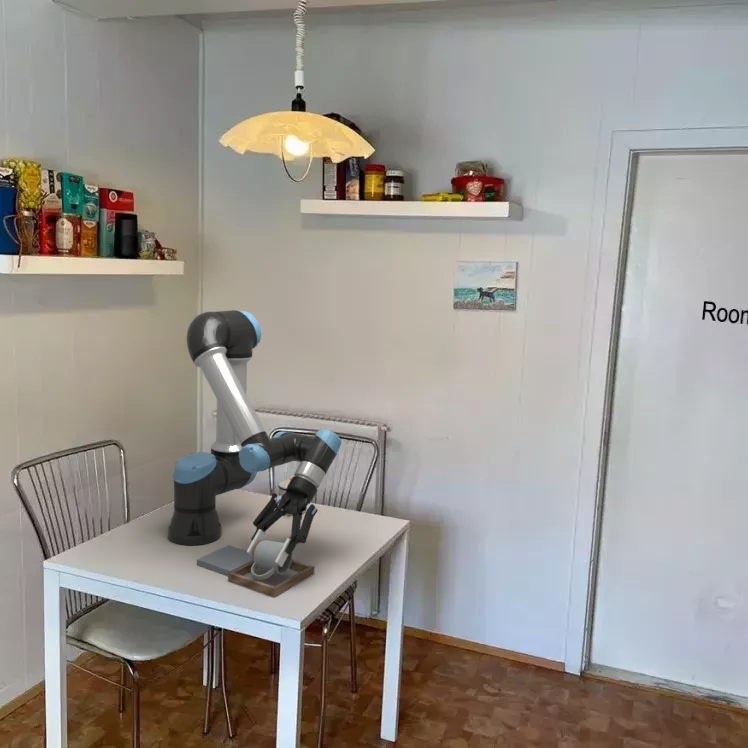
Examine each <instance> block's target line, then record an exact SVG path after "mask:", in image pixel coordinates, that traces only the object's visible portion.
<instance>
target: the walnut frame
mask: <svg viewBox="0 0 748 748" xmlns="http://www.w3.org/2000/svg"><path fill="white" fill-rule="evenodd" d="M253 564H254V563H253V561H252V562H250V563H248V564H246V565H244V566H242V567H240V568H238V569H236V570H234V571H232V572H229V573H228V576H227V578H228V580H227V582H232V583H234V584H236V585H239V586H241V587H245V588H248V589H250V590H253V591H256V592H258V593H261V594H264V595H267V596H271V597H273V598H275V597H277V596H279V595H280V594H283V593H285V592H286V591H288V590H289V589H291V588H293V587H294V586H296V585H298V584H299V582H300V583H301V582H304V581H305V580H307V579H308V578H310V577H311V575H312V576H314V575H315V566H313V565H310V564H307V563H304V562H300V561H297V560H294V559H292V561H291V565H290V567H289V569H291V570H295V571H297V573H296V574H294V575H293V576H291V577H289V578H287V579H285V580H283V581H282V582H279V583H278V584H276V585H274V586H273V585H270V584H267V583H265V582H262V581H260V580H257V579H253V578H251V577H248V576H245V575H247V574H249V573H251V568H252V565H253ZM257 569H258V568H257V567H256V569H255V570H257ZM300 571H301V572H300ZM313 574H314V575H313ZM309 576H310V577H309ZM306 578H307V579H306ZM304 579H305V580H304ZM297 583H298V584H297ZM292 586H293V587H292ZM287 589H288V590H287Z"/></svg>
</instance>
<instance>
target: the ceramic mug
mask: <svg viewBox="0 0 748 748" xmlns="http://www.w3.org/2000/svg"><path fill="white" fill-rule="evenodd" d="M284 544H285V542H280V541H274V540H267V539H265V540H264V539H263V541H260V542H259V543H258V544H257V545H256V546H255V548H254V551H253V556H252V559H253V563H254V564H253V565H252V568H251V572H250V573H251V575H252V577H253V578H254V580H257V581H263V580H266V579H269V578H270V577H272V576H273V575H274V574H276V575H284V574H286V573H287V572H288V571H289V569H290V568H289V567H290V565H291V561H292V560H293V553H292V554H291V555H288V557H287V558H286V560H285V562H284V564H283V566H282V567H280V566H279V565H278V564H277V563H276V562H275V560H276V559H277V557H278V555H279V553H280V551H281V549H282V547H283V545H284ZM256 567H257V569H260V570H263V571H267V572H266V573H263V574H256V573H255V570H257V569H256Z"/></svg>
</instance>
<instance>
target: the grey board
mask: <svg viewBox="0 0 748 748" xmlns="http://www.w3.org/2000/svg"><path fill="white" fill-rule="evenodd" d="M252 561H253V559H252V556H251V555H249V554H248V553H247V550H245V549H241V548H238V547H236V546H232V545H229V544H228V545H226V546H224V547H221V548H219V549H216V550H215V551H212V552H210V553H208V554H206V555H203V556H201V557H199V558H197V559H196V565H197V566H199V567H202V568H204V567H205V569H207V570H210V569H211V570H210V571H213V572H216V573H219V574H222V575H224V576H227V577H228V573H229V572H232V571H234V570H236V569H238V568H240V567H242V566H244V565H246V564H248V563H250V562H252Z"/></svg>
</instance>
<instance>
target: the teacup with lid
mask: <svg viewBox="0 0 748 748" xmlns="http://www.w3.org/2000/svg"><path fill="white" fill-rule="evenodd" d="M292 477H294V475H290V476H289V478H287V479H285V480H281V481H280V482H279V483H278V495H279V496H282V495H283V494H285V492H286V490H287V486H288V484H289V482H290V481H291V479H292ZM280 503H281V502H280ZM281 510H282V511H283V509H281ZM305 513H306V510H305V511H303V512H302V514H305ZM285 516H293V515H292V514H286V515H285Z"/></svg>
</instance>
